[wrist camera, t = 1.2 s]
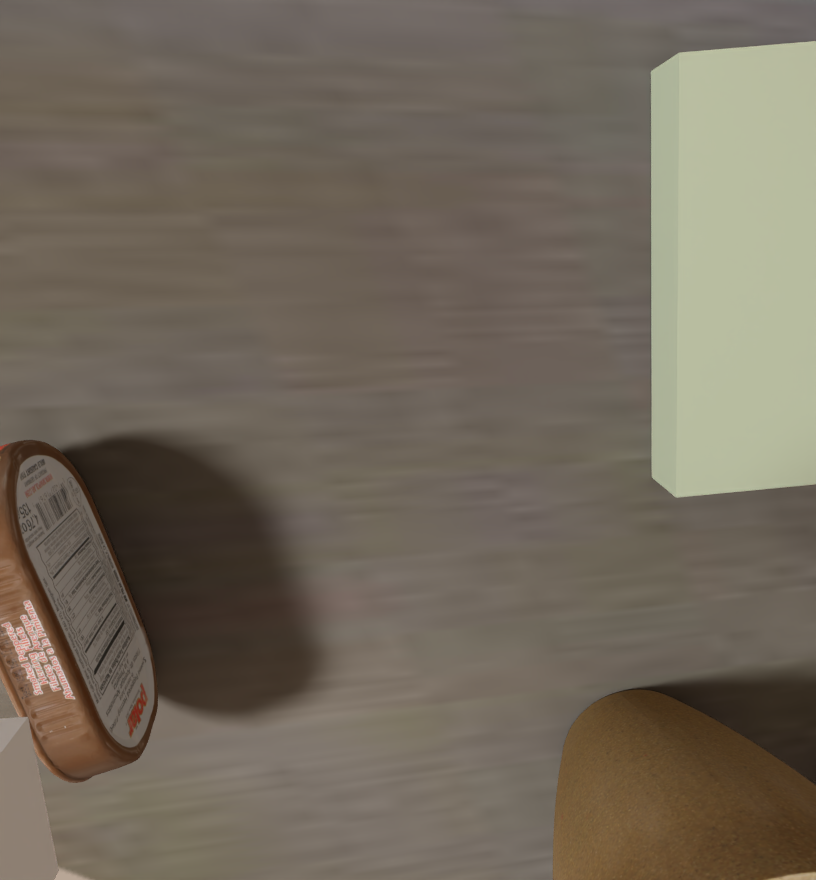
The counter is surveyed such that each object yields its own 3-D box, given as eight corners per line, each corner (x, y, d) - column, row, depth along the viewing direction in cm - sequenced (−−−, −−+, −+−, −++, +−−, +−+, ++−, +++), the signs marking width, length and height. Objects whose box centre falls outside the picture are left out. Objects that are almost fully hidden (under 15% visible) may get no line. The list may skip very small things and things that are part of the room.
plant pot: (741, 863, 41) (958, 1228, 26) (481, 855, 41) (545, 1227, 25) (796, 626, 38) (1086, 887, 22) (511, 611, 37) (608, 872, 21)
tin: (7, 431, 34) (-110, 489, 26) (73, 413, 34) (-25, 465, 25) (125, 705, 38) (55, 832, 29) (184, 690, 37) (130, 812, 29)
